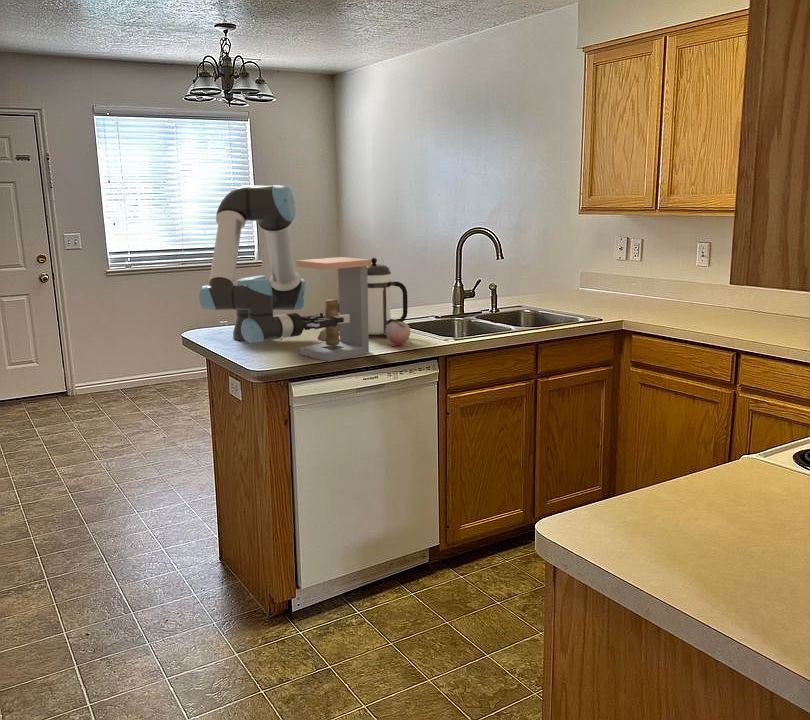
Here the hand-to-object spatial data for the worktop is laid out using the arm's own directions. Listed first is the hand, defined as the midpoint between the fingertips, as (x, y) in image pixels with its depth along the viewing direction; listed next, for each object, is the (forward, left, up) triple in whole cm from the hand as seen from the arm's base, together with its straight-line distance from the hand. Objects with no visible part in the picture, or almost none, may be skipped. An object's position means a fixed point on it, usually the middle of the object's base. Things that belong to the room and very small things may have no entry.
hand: (344, 317), depth 255 cm
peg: (0, -5, -8) cm, 10 cm away
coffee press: (-15, +29, -12) cm, 35 cm away
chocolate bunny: (-23, +11, -12) cm, 28 cm away
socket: (0, -4, -12) cm, 13 cm away
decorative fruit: (+5, +21, -12) cm, 25 cm away
